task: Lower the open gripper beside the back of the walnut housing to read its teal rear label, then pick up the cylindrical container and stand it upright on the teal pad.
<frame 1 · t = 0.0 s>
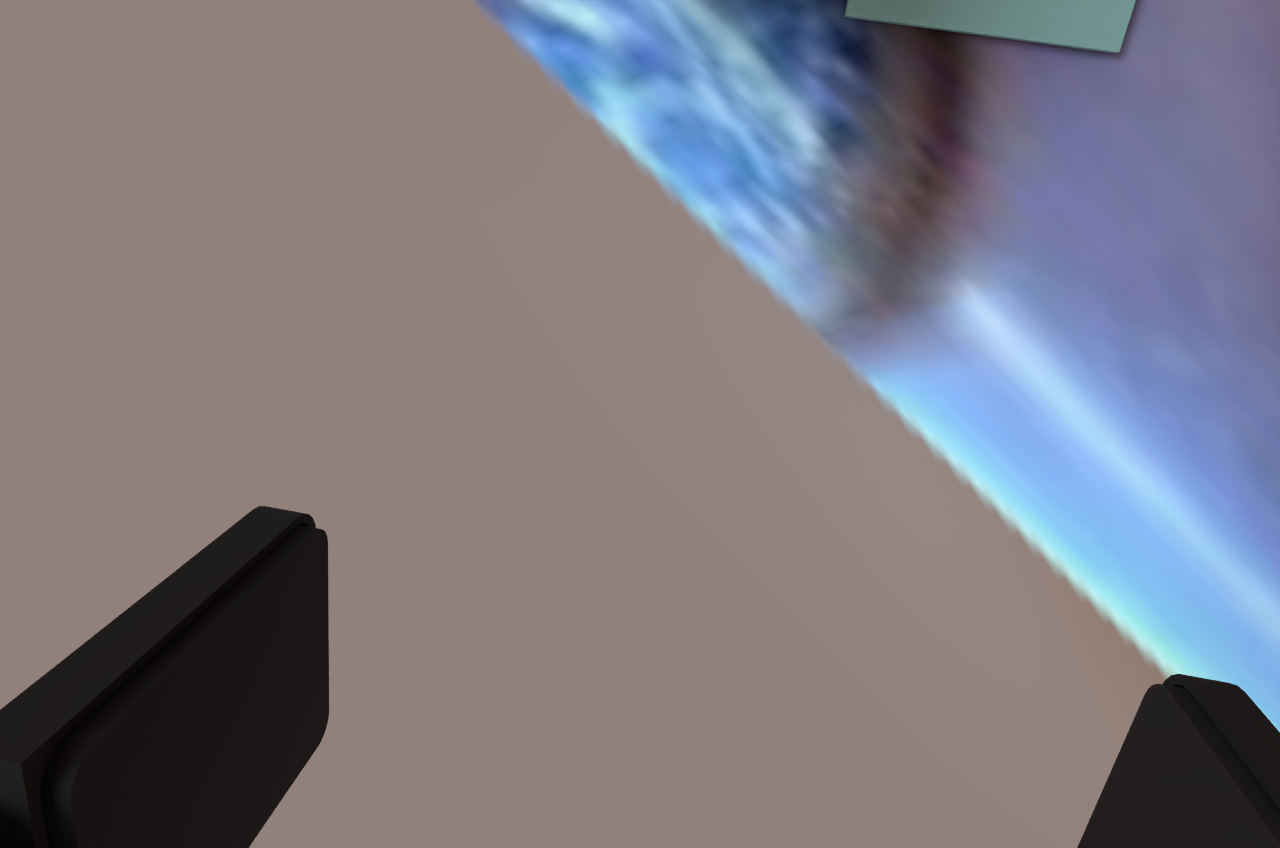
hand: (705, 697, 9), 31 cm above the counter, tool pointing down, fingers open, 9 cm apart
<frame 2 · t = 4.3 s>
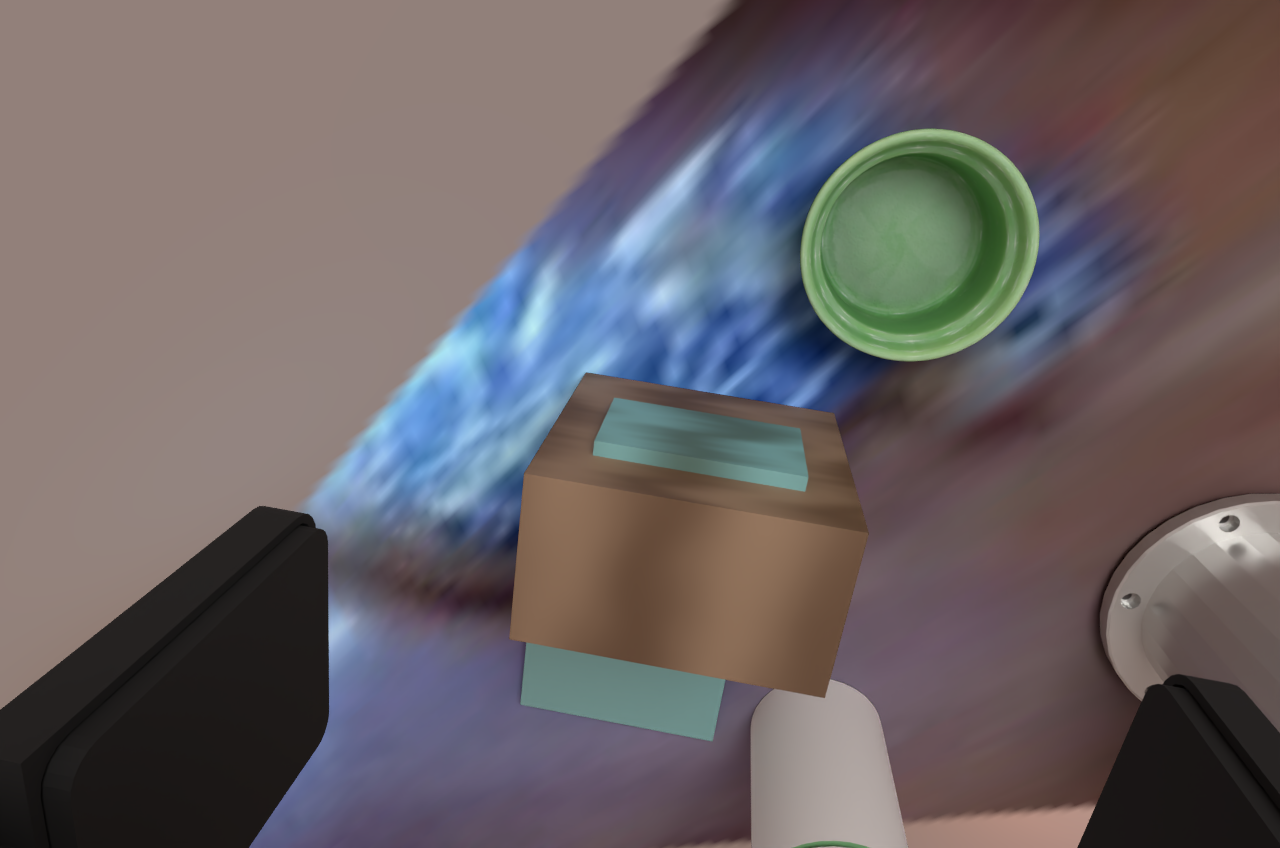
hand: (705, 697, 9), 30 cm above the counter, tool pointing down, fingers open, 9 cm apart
teal pad: (629, 635, 45), on the counter
ramekin: (897, 235, 36), on the counter
cylindrical container: (815, 728, 46), on the counter
walnut housing: (697, 458, 41), on the counter
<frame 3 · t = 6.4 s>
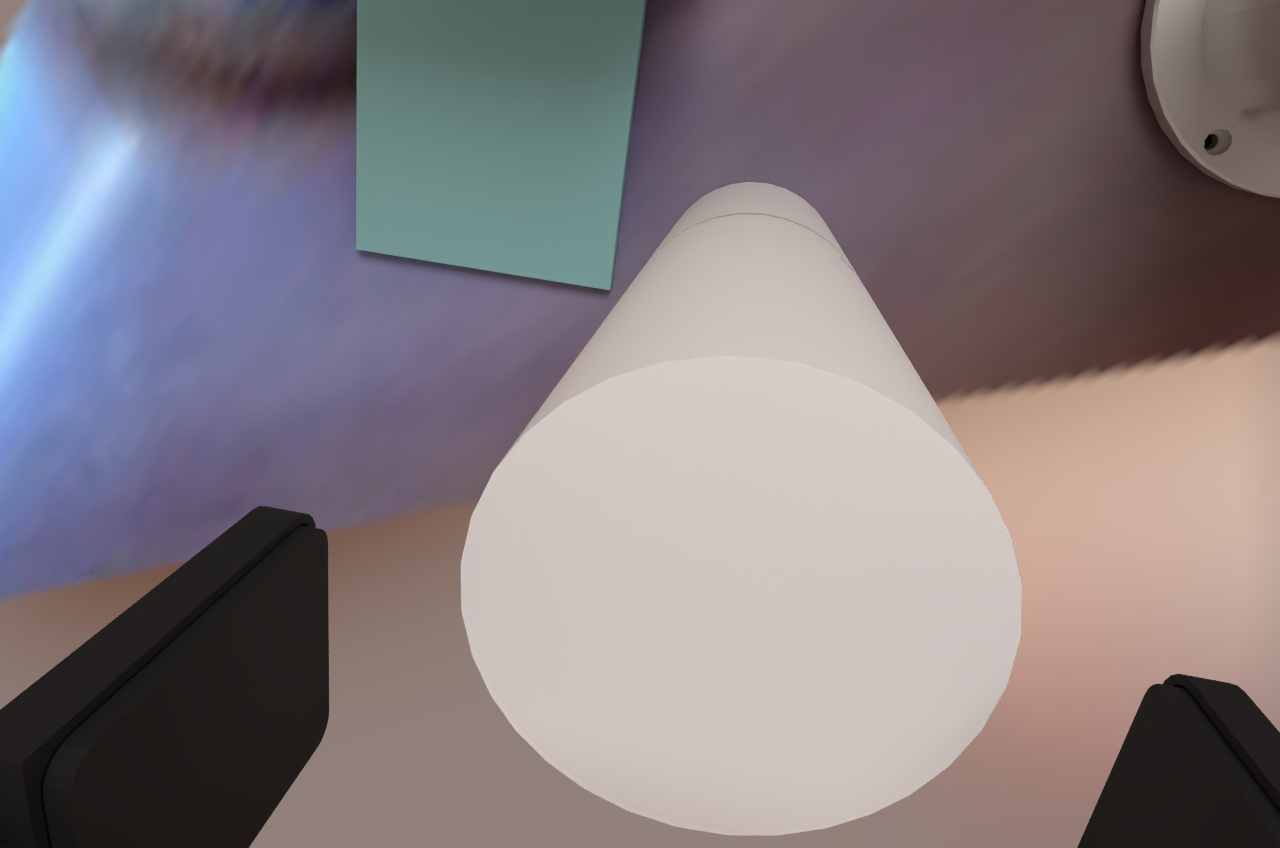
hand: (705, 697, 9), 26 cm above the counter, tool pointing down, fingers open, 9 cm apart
teal pad: (494, 131, 33), on the counter
cylindrical container: (748, 271, 34), on the counter
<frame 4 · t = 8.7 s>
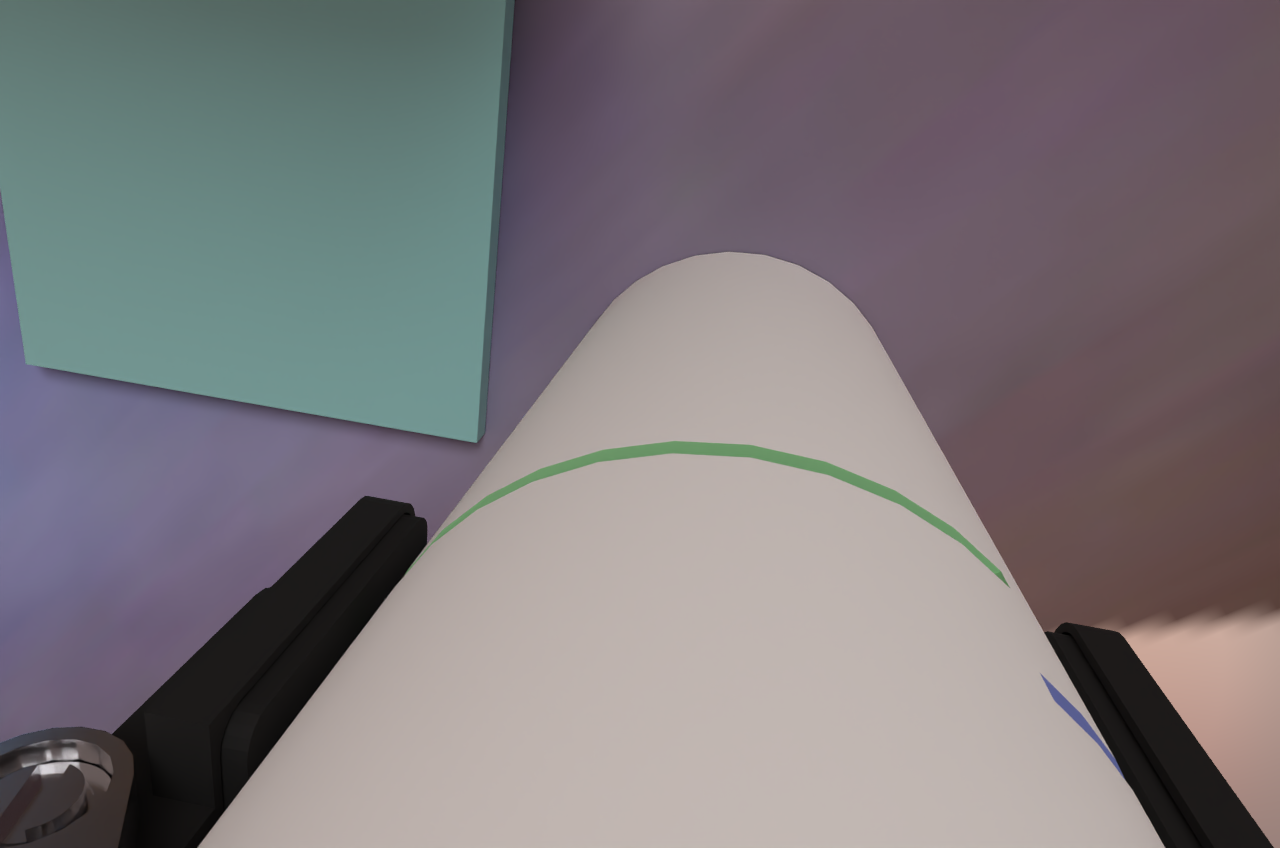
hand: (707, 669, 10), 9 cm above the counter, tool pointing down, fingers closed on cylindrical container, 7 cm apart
teal pad: (252, 154, 18), on the counter
cylindrical container: (728, 410, 19), on the counter, touching gripper
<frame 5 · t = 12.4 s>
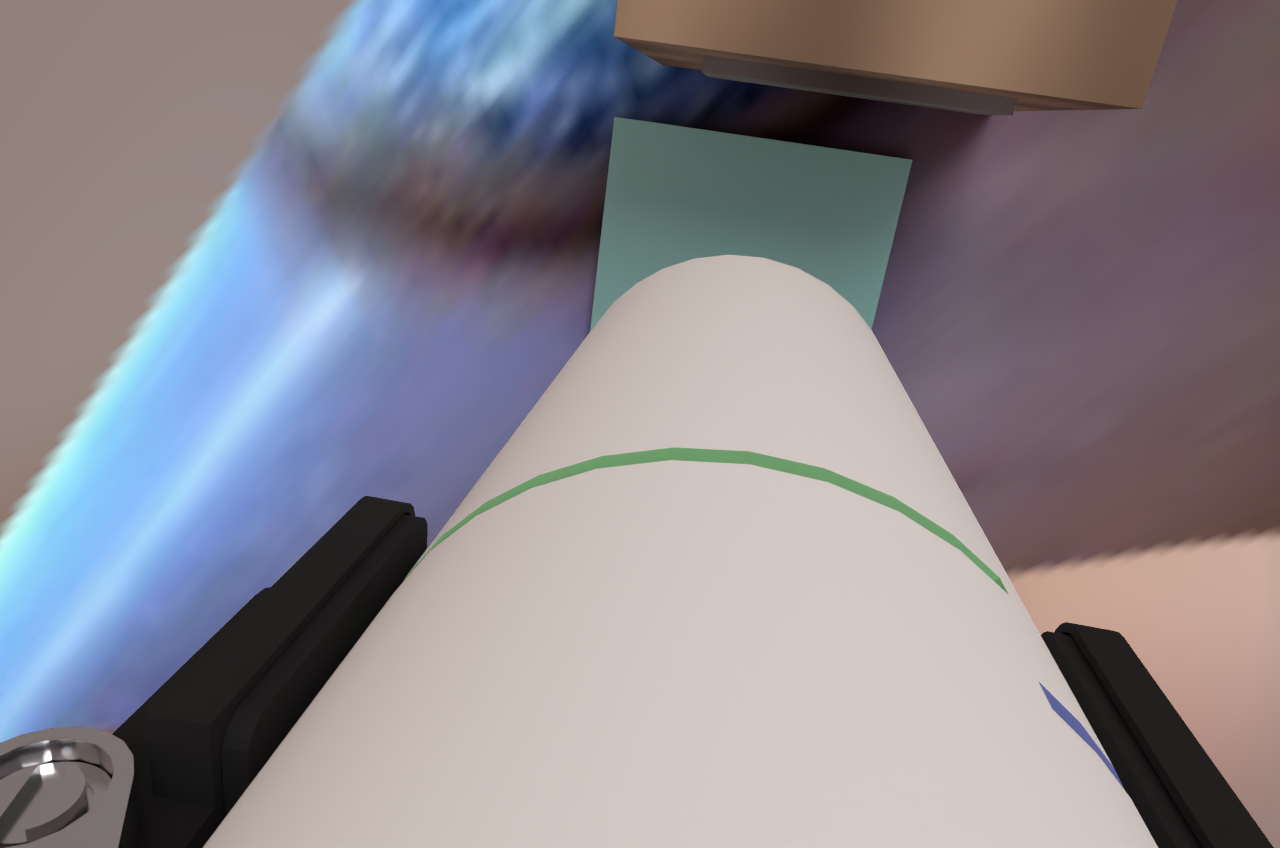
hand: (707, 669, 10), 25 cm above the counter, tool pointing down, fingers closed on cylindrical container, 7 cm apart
teal pad: (735, 282, 33), on the counter
cylindrical container: (728, 413, 19), point 15 cm above the counter, touching gripper
when the fingers open (11 cm above the counter, at t = 16.0 s): cylindrical container stays where it is, resting on teal pad.
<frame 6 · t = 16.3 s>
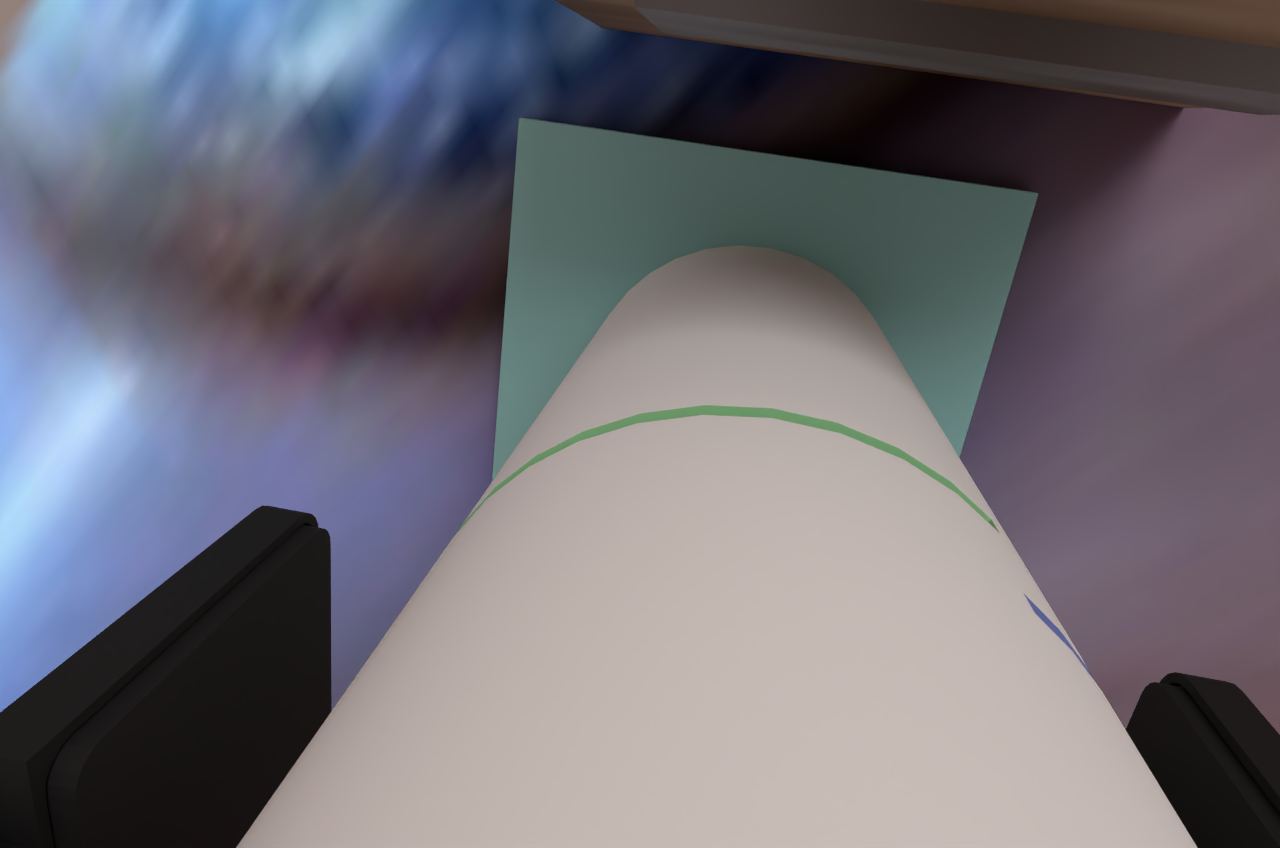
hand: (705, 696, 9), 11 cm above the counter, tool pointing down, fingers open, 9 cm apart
teal pad: (729, 390, 20), on the counter
cylindrical container: (736, 396, 20), resting on teal pad
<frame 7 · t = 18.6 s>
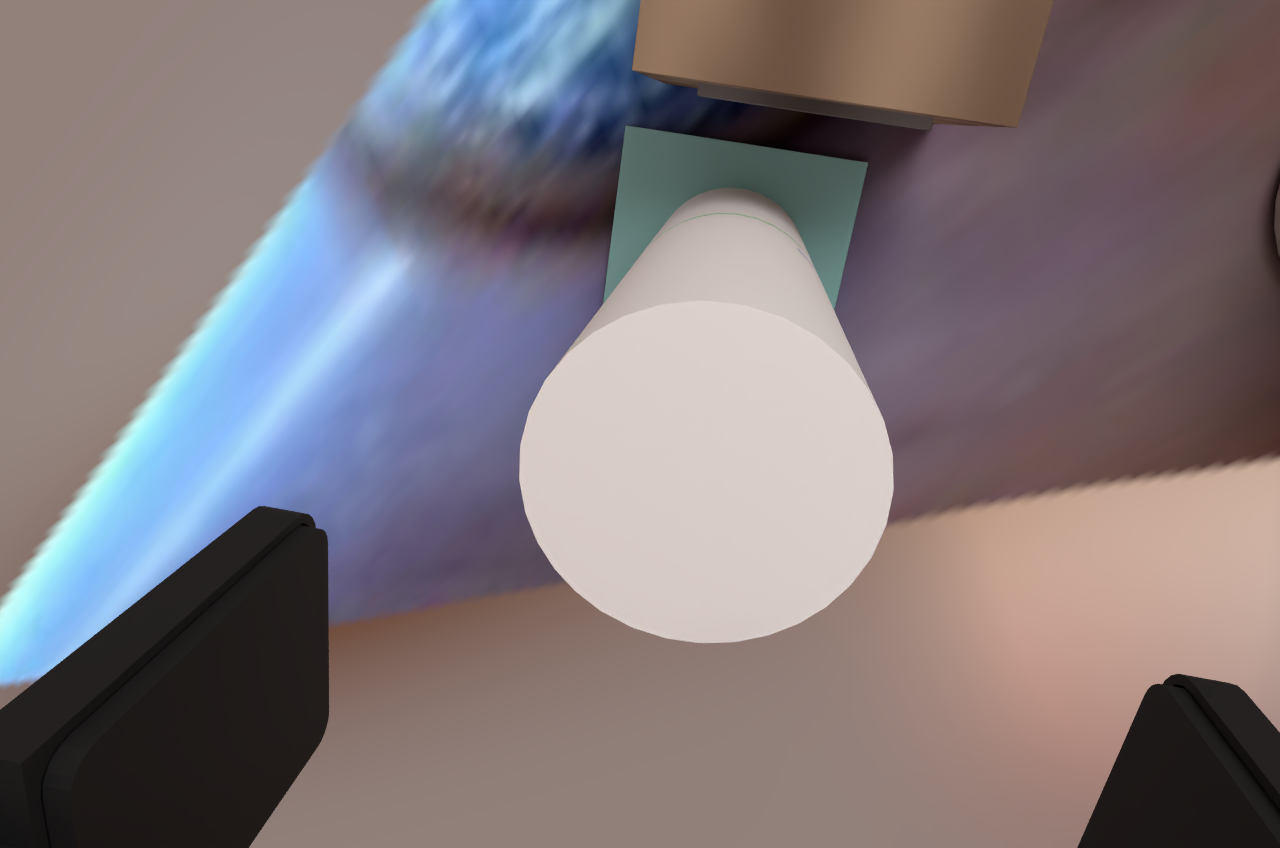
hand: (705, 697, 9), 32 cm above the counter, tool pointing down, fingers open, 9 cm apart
teal pad: (724, 263, 40), on the counter
cylindrical container: (728, 265, 39), resting on teal pad
walnut housing: (815, 17, 36), on the counter
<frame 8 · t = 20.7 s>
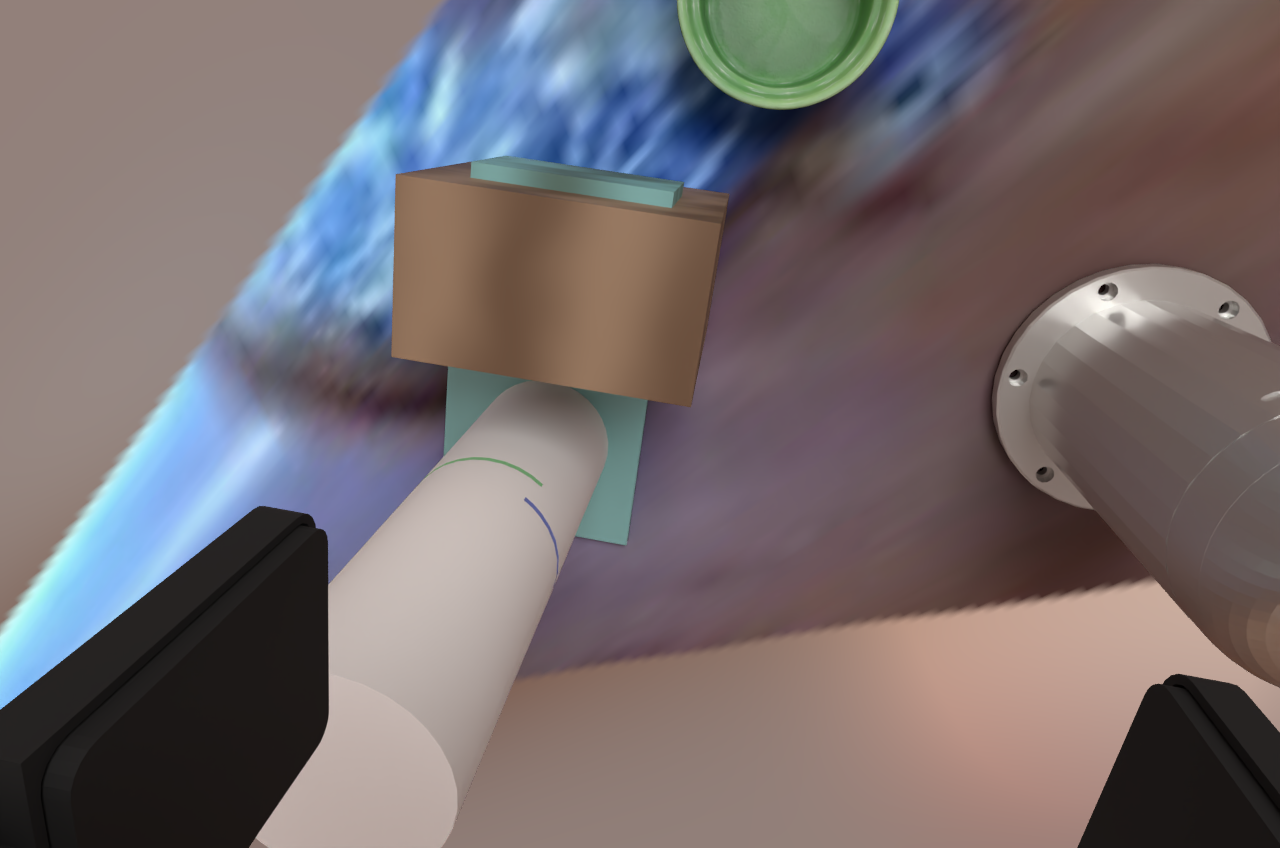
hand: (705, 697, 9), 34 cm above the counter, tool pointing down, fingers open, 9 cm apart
teal pad: (543, 437, 46), on the counter
ramekin: (783, 5, 38), on the counter
cylindrical container: (545, 440, 46), resting on teal pad
walnut housing: (601, 246, 42), on the counter
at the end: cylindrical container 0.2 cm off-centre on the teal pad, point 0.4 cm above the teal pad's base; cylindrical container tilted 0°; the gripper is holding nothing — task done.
